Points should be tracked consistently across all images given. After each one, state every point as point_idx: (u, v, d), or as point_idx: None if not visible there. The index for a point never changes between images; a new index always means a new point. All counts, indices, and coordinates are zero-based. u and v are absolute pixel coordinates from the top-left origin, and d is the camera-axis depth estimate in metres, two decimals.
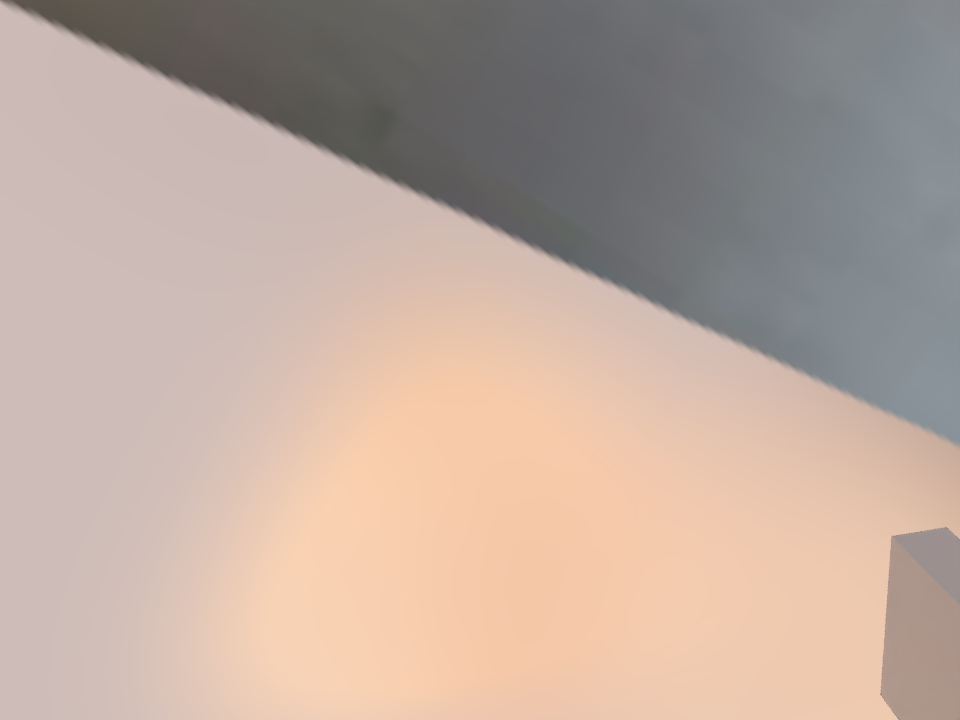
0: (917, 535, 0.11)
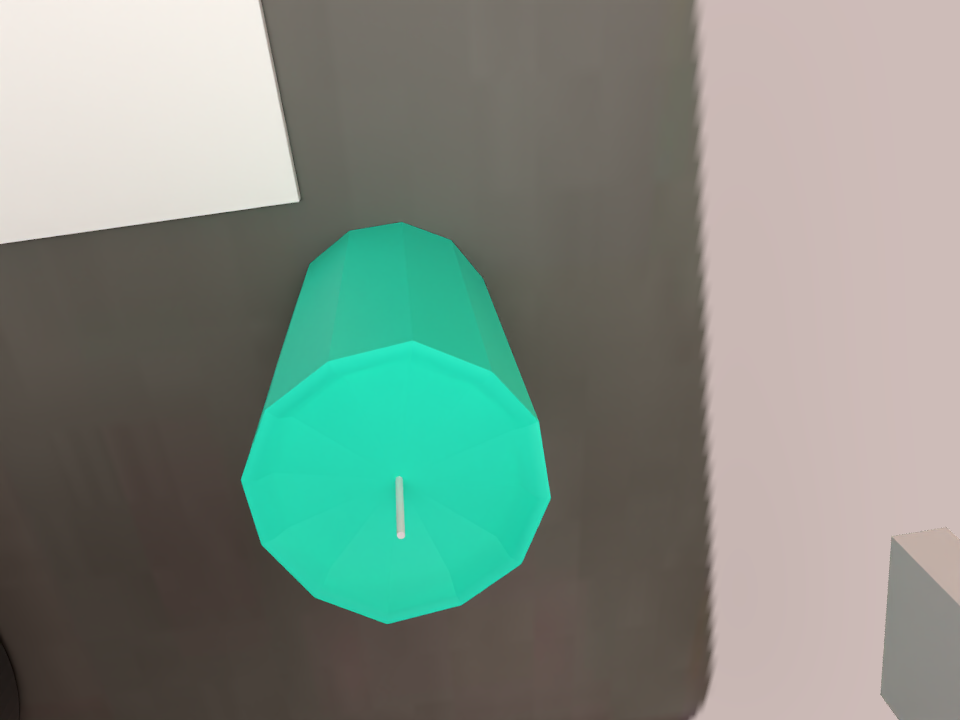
0: (917, 535, 0.11)
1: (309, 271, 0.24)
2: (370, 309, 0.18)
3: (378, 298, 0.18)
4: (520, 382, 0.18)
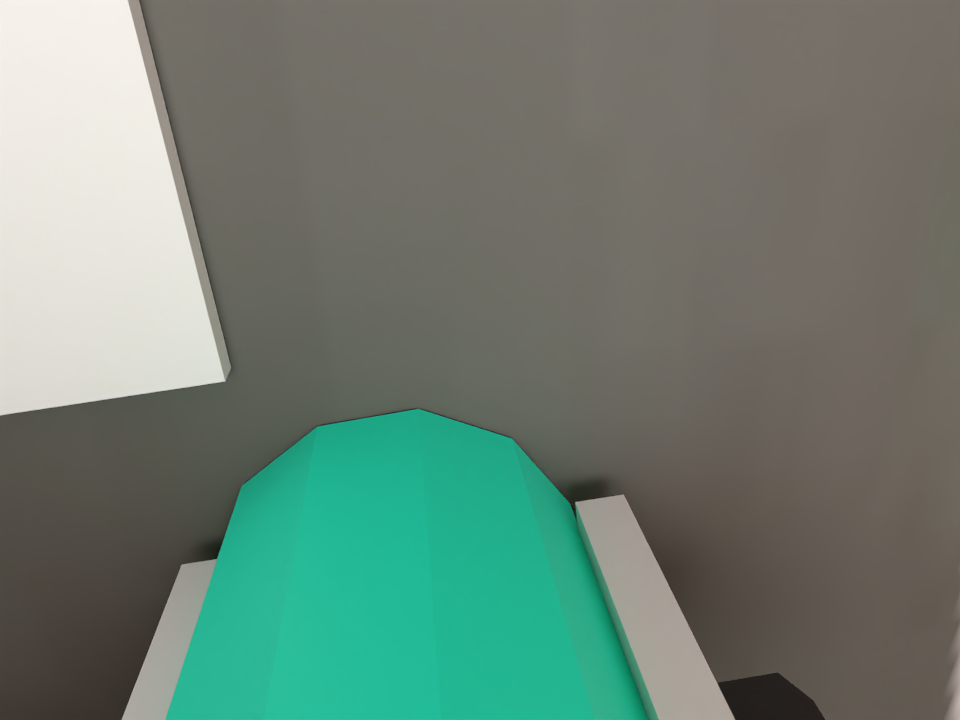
0: (596, 501, 0.13)
1: (234, 521, 0.12)
2: None
3: None
4: None
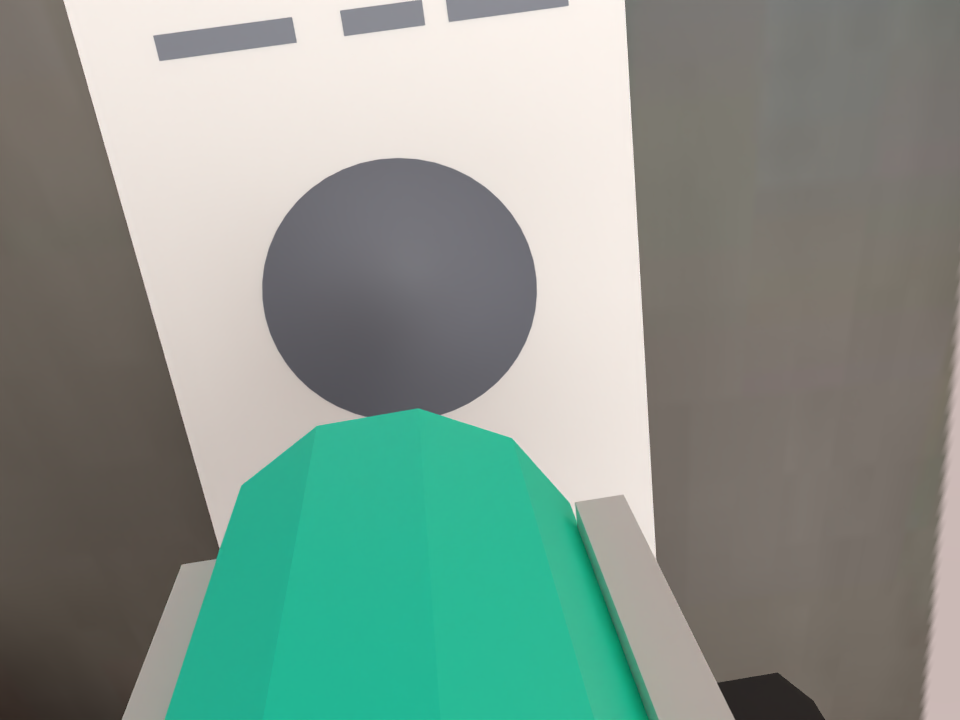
0: (596, 501, 0.13)
1: (233, 521, 0.12)
2: None
3: None
4: None
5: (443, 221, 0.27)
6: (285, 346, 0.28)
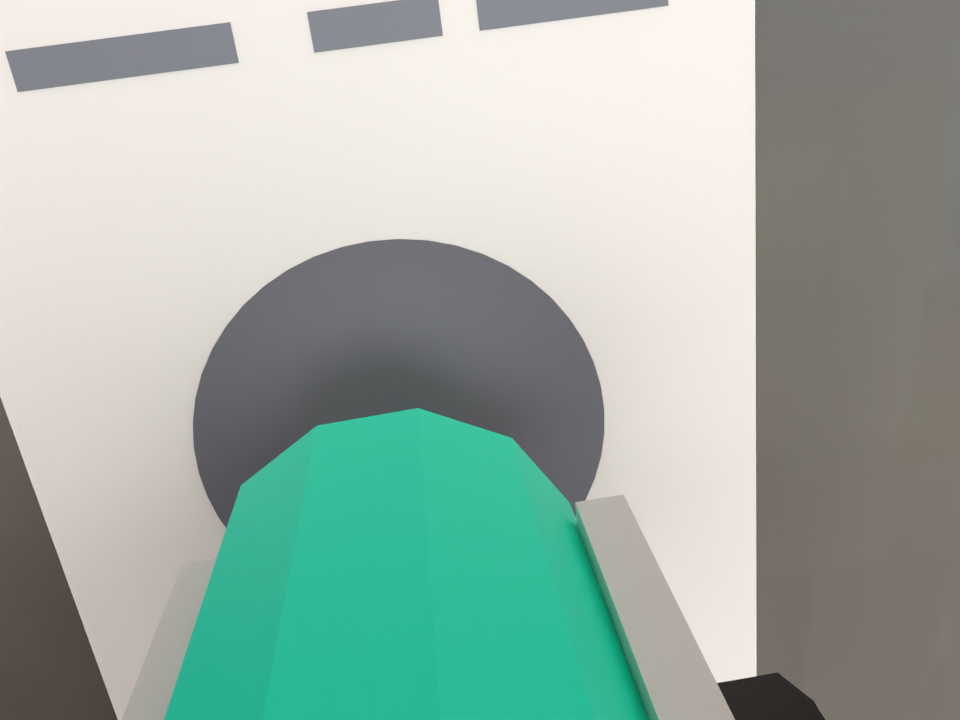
0: (596, 500, 0.13)
1: (233, 520, 0.12)
2: None
3: None
4: None
5: (467, 331, 0.18)
6: (230, 512, 0.19)
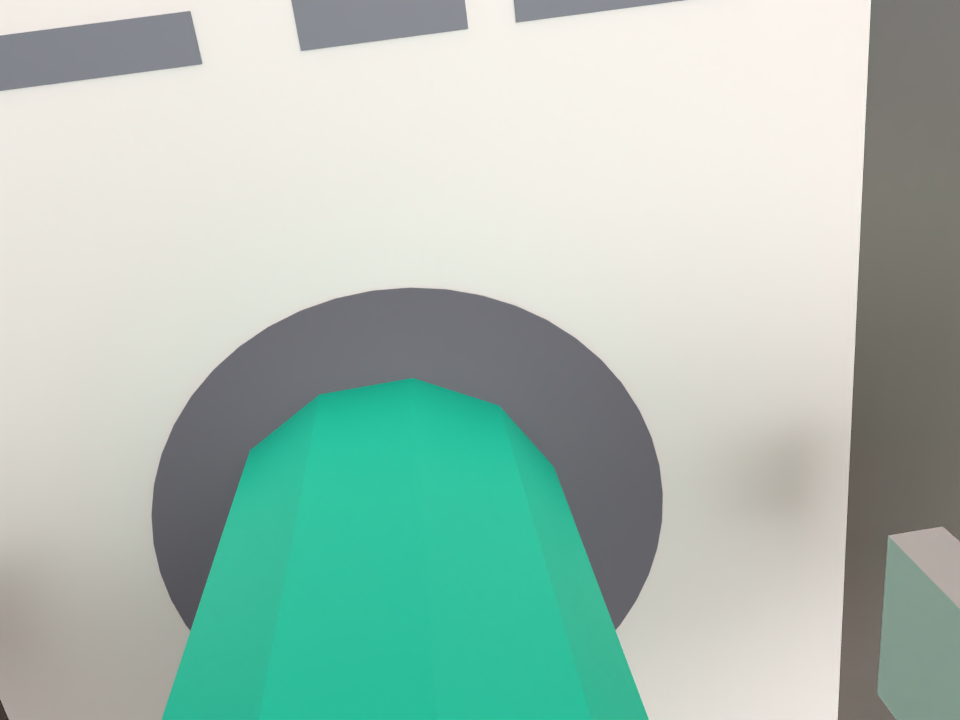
0: (914, 534, 0.11)
1: (244, 480, 0.13)
2: None
3: (361, 709, 0.07)
4: None
5: (495, 400, 0.14)
6: None
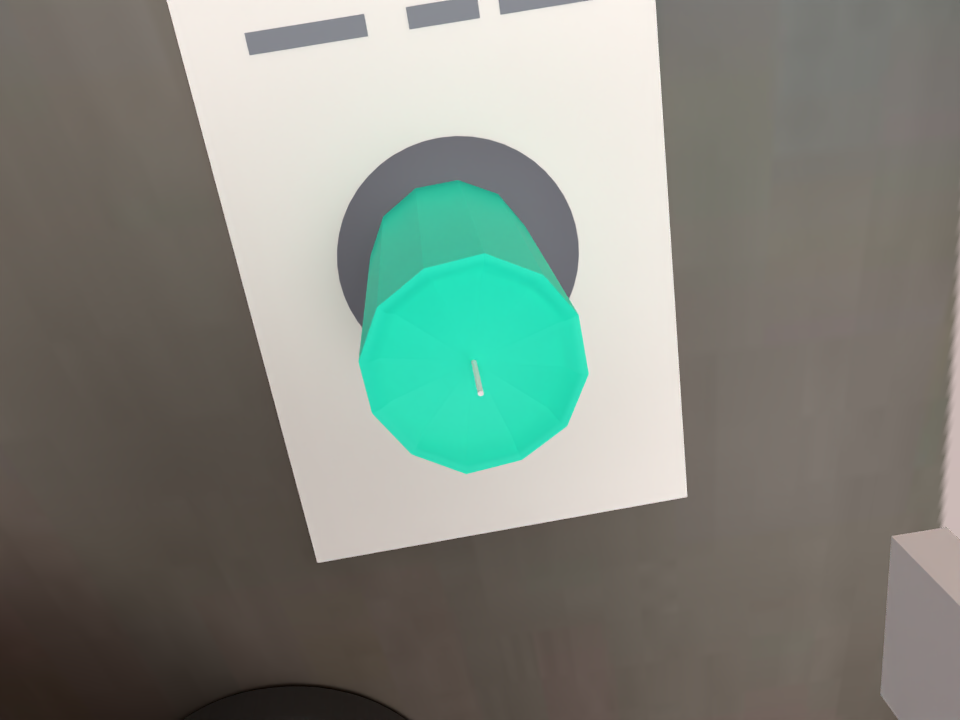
0: (916, 535, 0.11)
1: (384, 221, 0.30)
2: (447, 237, 0.23)
3: (451, 230, 0.24)
4: (562, 290, 0.23)
5: (495, 191, 0.31)
6: (357, 306, 0.32)
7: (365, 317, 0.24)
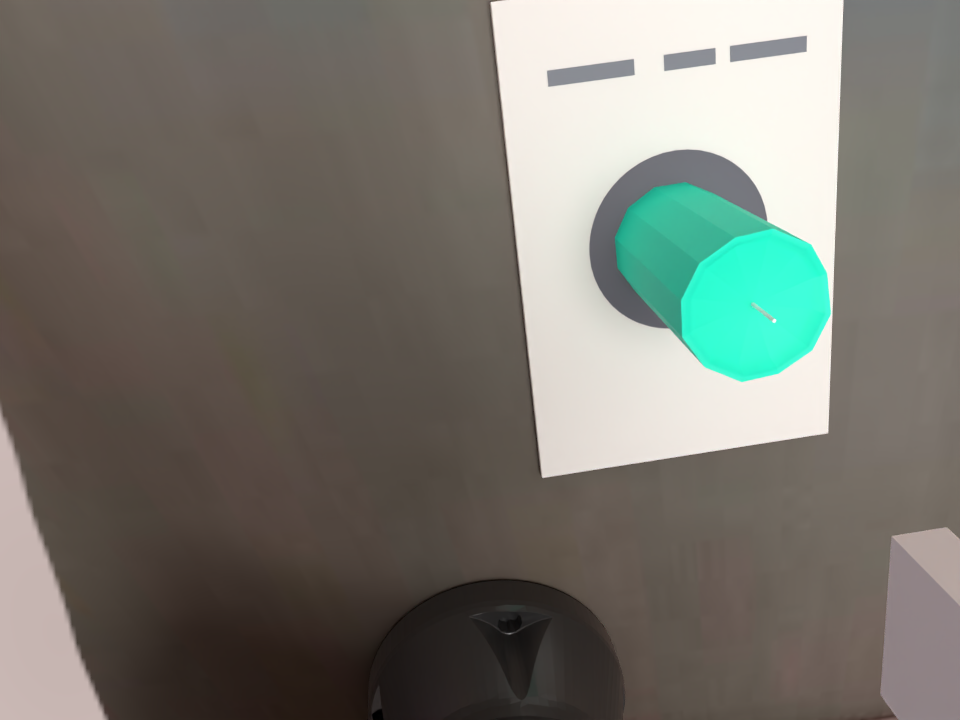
0: (917, 534, 0.11)
1: (636, 211, 0.40)
2: (728, 219, 0.34)
3: (726, 214, 0.34)
4: None
5: (711, 191, 0.41)
6: (599, 275, 0.42)
7: (664, 274, 0.34)
